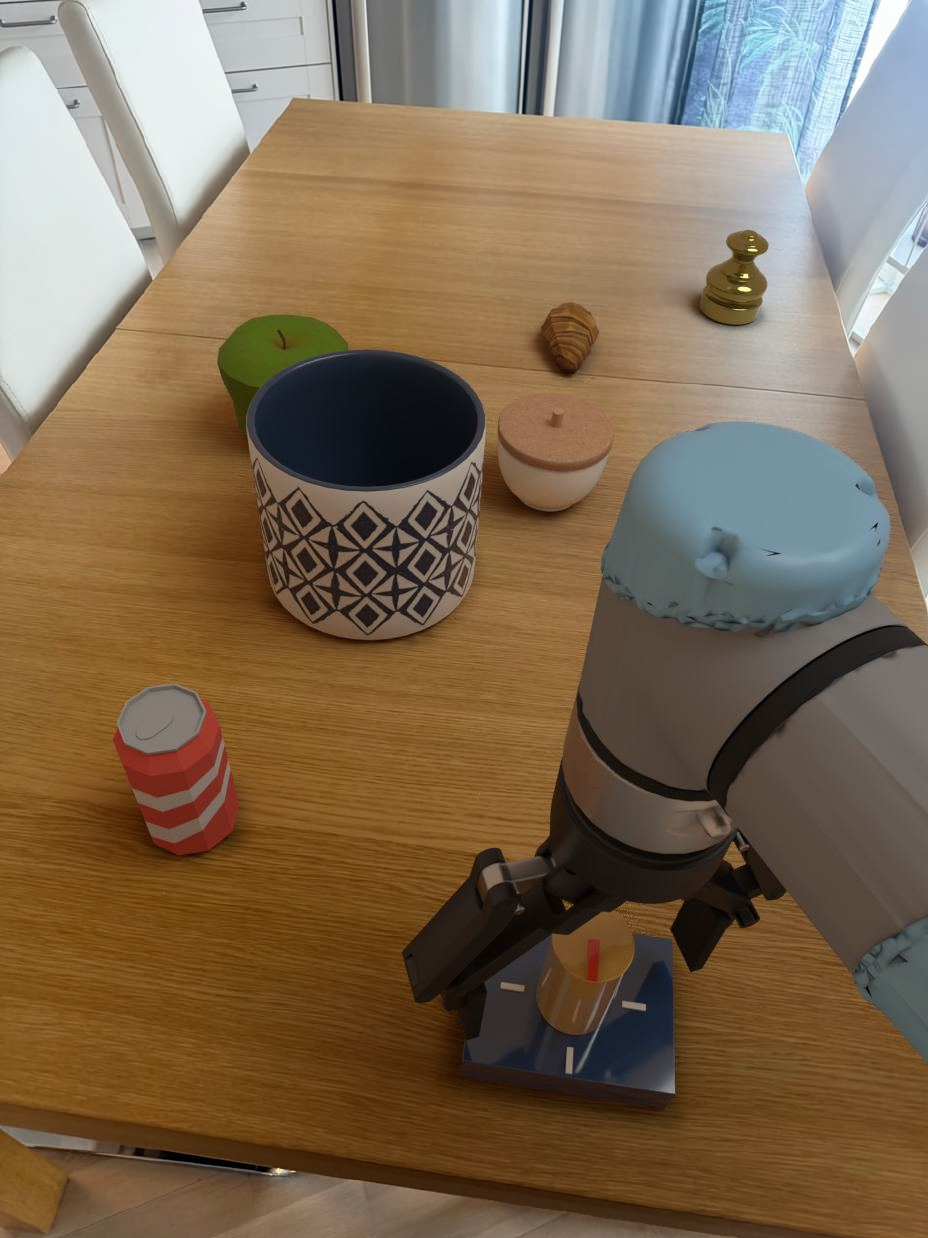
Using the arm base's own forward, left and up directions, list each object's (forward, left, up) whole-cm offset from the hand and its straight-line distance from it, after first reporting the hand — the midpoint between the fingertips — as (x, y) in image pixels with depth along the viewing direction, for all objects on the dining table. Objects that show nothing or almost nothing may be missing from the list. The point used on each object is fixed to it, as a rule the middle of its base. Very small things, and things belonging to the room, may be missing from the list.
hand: (578, 981), depth 53 cm
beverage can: (+20, +20, -6) cm, 29 cm away
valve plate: (0, 0, -5) cm, 5 cm away
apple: (+63, +5, -6) cm, 63 cm away
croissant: (+71, -29, -6) cm, 77 cm away
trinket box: (+47, -17, -6) cm, 50 cm away
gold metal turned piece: (+74, -52, -6) cm, 91 cm away
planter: (+41, +2, -6) cm, 41 cm away
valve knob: (0, 0, -2) cm, 2 cm away
